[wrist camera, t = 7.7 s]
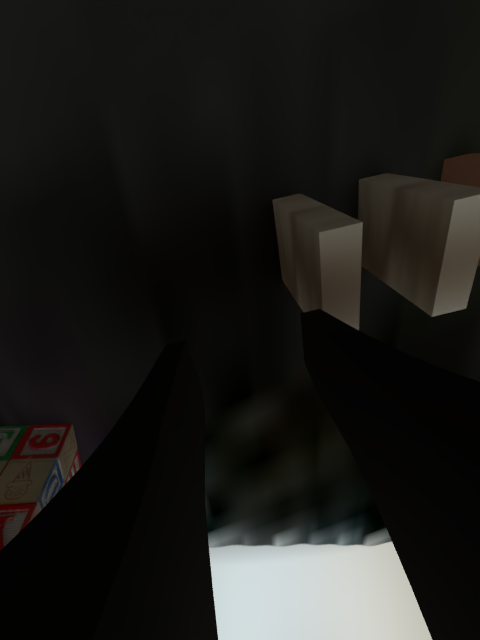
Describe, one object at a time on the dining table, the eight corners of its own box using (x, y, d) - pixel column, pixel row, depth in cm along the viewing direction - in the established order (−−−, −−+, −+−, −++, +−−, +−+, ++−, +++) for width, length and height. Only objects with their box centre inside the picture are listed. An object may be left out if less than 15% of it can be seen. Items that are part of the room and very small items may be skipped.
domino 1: (306, 274, 19) (358, 334, 13) (282, 280, 19) (323, 343, 13) (300, 193, 16) (362, 222, 10) (272, 199, 16) (318, 232, 10)
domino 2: (380, 256, 19) (465, 308, 13) (356, 262, 19) (431, 316, 13) (386, 173, 16) (497, 190, 10) (358, 179, 16) (454, 200, 10)
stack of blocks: (101, 548, 33) (60, 732, 23) (40, 554, 32) (-31, 751, 22) (73, 421, 23) (-27, 656, 12) (-20, 423, 22) (-216, 685, 11)
